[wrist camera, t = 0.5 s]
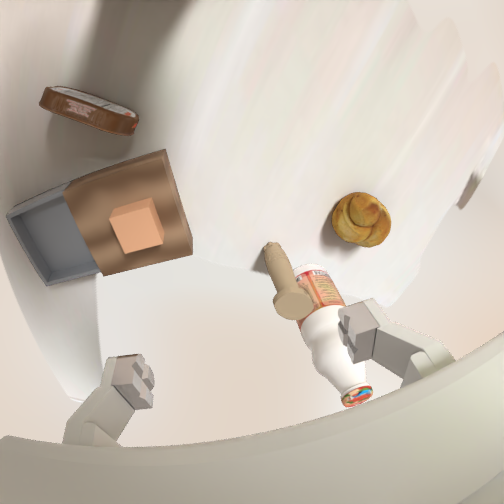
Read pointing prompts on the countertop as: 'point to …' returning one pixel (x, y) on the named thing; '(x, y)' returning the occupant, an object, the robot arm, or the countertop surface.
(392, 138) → the countertop surface
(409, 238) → the countertop surface
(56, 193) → the box
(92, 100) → the tin
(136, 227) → the terracotta block
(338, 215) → the bread roll
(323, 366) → the fruit juice
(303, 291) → the handle
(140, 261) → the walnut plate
